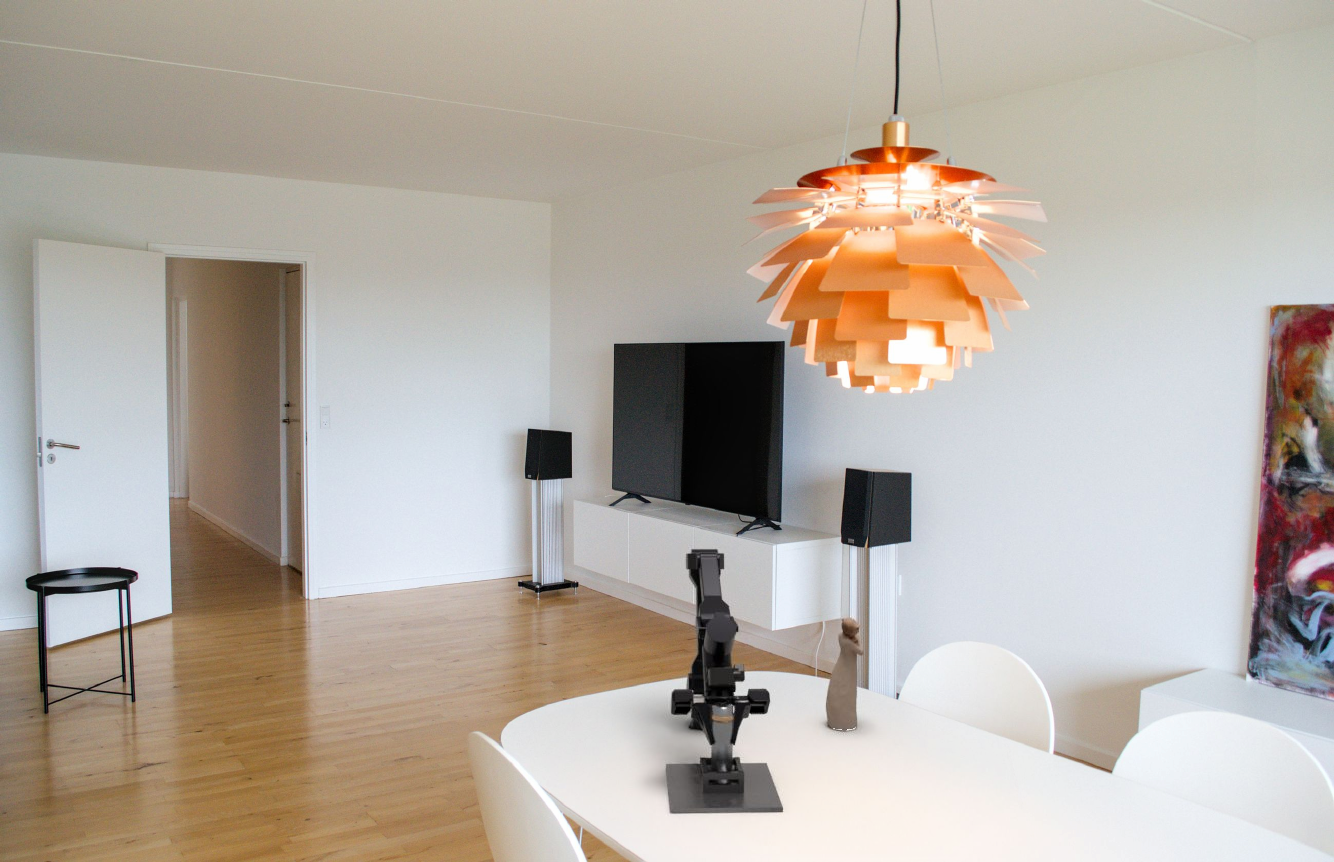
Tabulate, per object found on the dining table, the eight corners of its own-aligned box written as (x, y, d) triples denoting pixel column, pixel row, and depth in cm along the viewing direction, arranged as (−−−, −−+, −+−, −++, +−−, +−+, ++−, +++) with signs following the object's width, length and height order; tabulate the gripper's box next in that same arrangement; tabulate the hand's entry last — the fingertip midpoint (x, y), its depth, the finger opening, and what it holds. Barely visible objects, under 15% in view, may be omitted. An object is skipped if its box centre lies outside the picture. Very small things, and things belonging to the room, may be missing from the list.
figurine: (854, 735, 210) (856, 621, 208) (819, 726, 215) (821, 615, 213) (869, 725, 216) (872, 614, 214) (835, 716, 221) (837, 608, 220)
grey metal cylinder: (720, 771, 185) (721, 700, 184) (737, 778, 182) (738, 705, 181) (705, 778, 181) (706, 705, 181) (722, 785, 178) (723, 711, 178)
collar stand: (666, 767, 191) (666, 745, 191) (766, 766, 192) (766, 744, 192) (670, 812, 171) (671, 788, 171) (782, 811, 172) (783, 786, 172)
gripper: (672, 648, 184) (674, 725, 173) (769, 647, 185) (777, 725, 174) (669, 675, 192) (671, 751, 182) (763, 675, 193) (770, 750, 182)
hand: (722, 744), depth 180 cm, fingers closed on grey metal cylinder, 4 cm apart
